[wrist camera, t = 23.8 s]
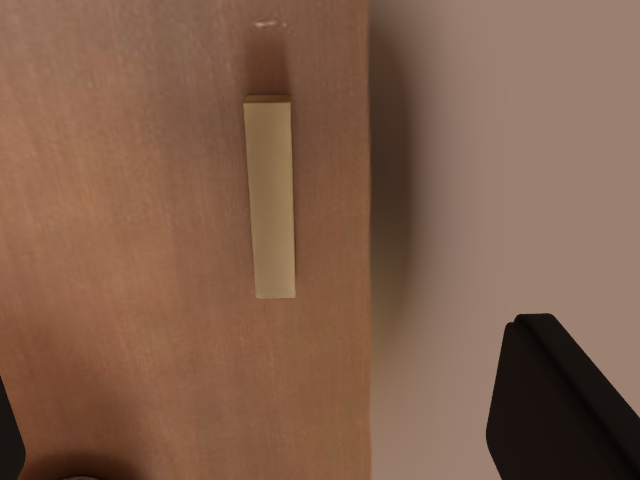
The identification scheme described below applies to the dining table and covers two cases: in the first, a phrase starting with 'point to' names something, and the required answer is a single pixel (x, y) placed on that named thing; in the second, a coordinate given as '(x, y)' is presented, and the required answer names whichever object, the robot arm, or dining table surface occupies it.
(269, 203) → the stick
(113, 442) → the dining table surface
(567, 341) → the robot arm
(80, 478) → the vase
